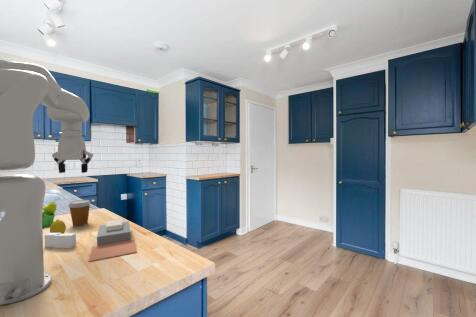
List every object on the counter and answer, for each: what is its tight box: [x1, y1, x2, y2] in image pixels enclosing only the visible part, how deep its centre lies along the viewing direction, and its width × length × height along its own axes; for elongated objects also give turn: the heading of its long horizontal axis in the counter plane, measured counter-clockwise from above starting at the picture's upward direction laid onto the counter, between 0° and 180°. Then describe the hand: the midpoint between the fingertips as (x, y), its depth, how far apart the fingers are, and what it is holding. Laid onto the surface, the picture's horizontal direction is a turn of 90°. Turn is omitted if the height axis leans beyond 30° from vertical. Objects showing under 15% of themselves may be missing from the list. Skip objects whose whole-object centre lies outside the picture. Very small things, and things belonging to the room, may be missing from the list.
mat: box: [88, 239, 137, 263], centre depth 87 cm, size 13×15×1 cm
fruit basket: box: [42, 201, 57, 228], centre depth 119 cm, size 11×9×11 cm
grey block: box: [96, 221, 132, 246], centre depth 99 cm, size 16×12×4 cm
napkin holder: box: [43, 232, 77, 249], centre depth 91 cm, size 15×11×6 cm
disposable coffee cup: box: [67, 199, 91, 227], centre depth 117 cm, size 10×10×12 cm
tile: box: [105, 218, 123, 231], centre depth 101 cm, size 9×6×2 cm, turn 28°
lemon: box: [49, 219, 67, 234], centre depth 100 cm, size 6×6×8 cm
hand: (73, 172), depth 103 cm, fingers open, 9 cm apart
